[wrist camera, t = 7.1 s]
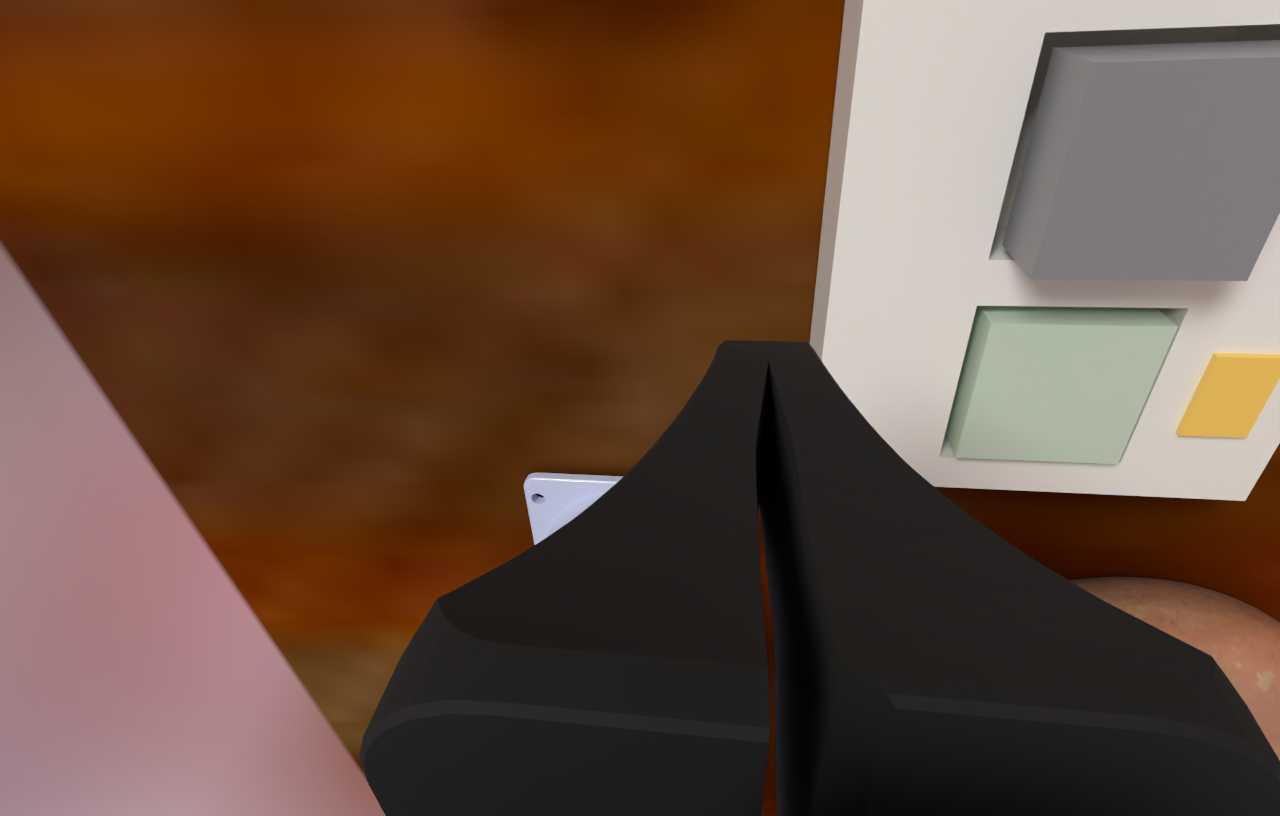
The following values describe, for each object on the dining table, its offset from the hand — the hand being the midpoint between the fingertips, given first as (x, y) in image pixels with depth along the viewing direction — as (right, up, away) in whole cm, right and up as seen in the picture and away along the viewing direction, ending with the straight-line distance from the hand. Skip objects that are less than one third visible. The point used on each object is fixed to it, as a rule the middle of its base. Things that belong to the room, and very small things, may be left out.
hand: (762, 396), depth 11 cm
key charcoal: (+9, +5, +4) cm, 11 cm away
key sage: (+9, +1, +9) cm, 13 cm away
